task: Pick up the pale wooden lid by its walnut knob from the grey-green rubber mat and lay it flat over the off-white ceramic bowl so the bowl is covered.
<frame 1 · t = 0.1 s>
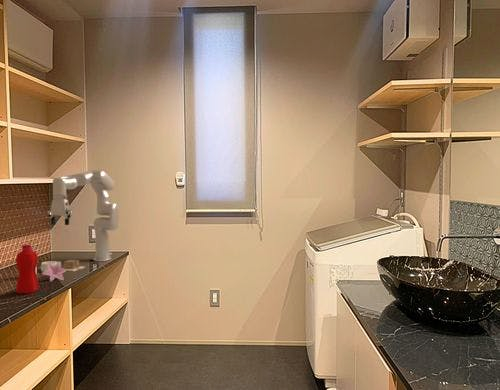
hand: (60, 224, 251), 31 cm above the worktop, tool pointing down, fingers open, 9 cm apart
bowl: (49, 271, 257), on the worktop
lid: (71, 268, 261), point 1 cm above the worktop, touching mat
mat: (71, 270, 261), on the worktop
water bottle: (28, 291, 212), on the worktop
lily: (55, 280, 237), on the worktop
medicine bottle: (27, 277, 242), on the worktop
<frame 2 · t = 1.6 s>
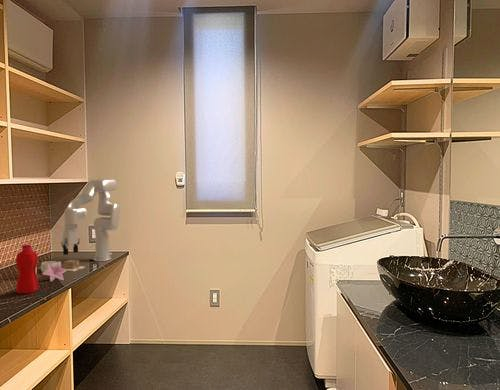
hand: (70, 253, 260), 11 cm above the worktop, tool pointing down, fingers open, 9 cm apart
nothing on the worktop moved.
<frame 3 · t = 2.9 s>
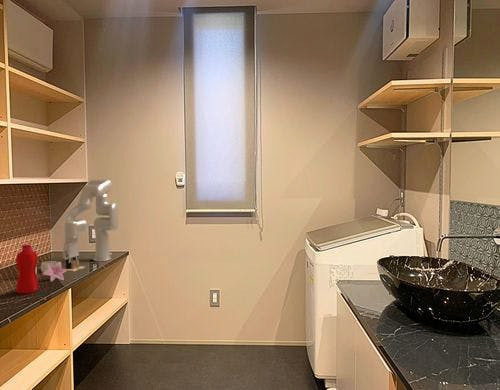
hand: (71, 267, 261), 2 cm above the worktop, tool pointing down, fingers closed on lid, 5 cm apart
lid: (71, 268, 261), point 1 cm above the worktop, touching gripper, mat
everything else where it was.
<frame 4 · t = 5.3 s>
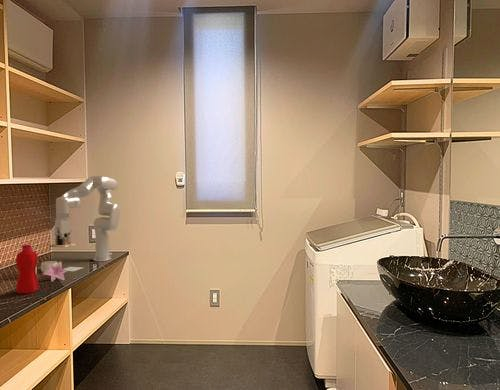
hand: (63, 243, 258), 18 cm above the worktop, tool pointing down, fingers closed on lid, 5 cm apart
lid: (63, 245, 258), point 17 cm above the worktop, touching gripper
everything else where it was.
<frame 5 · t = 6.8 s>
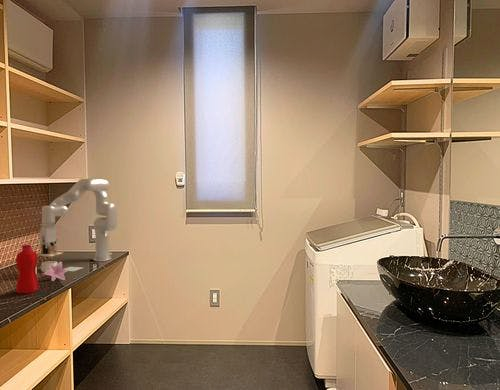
hand: (48, 252, 256), 12 cm above the worktop, tool pointing down, fingers closed on lid, 5 cm apart
lid: (48, 254, 256), point 11 cm above the worktop, touching gripper
everything else where it was.
when the fingers open (9 cm above the worktop, at t = 7.9 s): lid drops 2 cm, resting on bowl.
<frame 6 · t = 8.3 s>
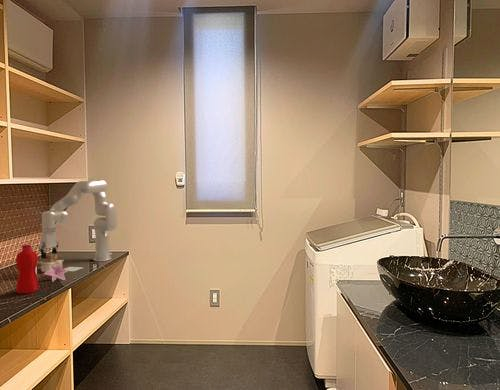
hand: (49, 257, 256), 10 cm above the worktop, tool pointing down, fingers open, 9 cm apart
lid: (49, 262, 257), point 6 cm above the worktop, touching bowl
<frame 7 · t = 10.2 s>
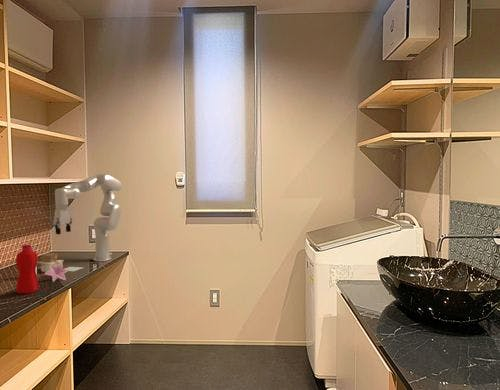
hand: (63, 232, 264), 24 cm above the worktop, tool pointing down, fingers open, 9 cm apart
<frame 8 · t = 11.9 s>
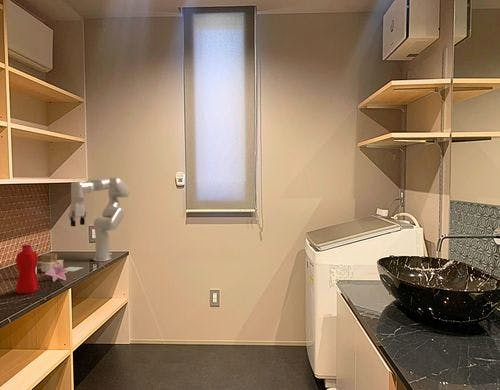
hand: (77, 225, 271), 28 cm above the worktop, tool pointing down, fingers open, 9 cm apart
at the end: lid 0.1 cm off-centre on the bowl, point 6.0 cm above the bowl's base; lid tilted 0°; the gripper is holding nothing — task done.
